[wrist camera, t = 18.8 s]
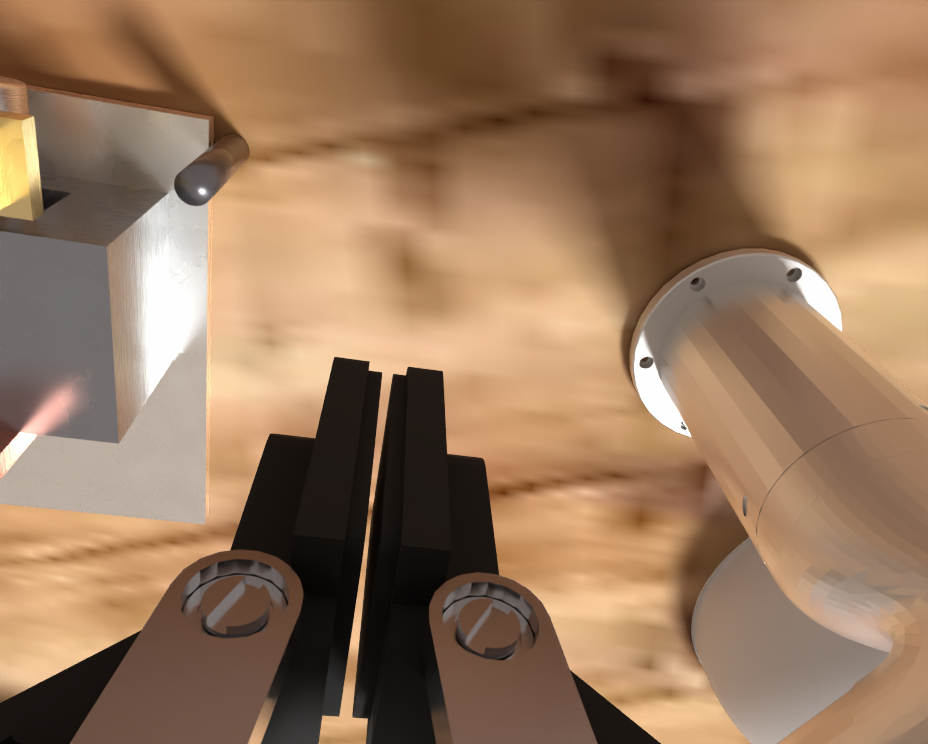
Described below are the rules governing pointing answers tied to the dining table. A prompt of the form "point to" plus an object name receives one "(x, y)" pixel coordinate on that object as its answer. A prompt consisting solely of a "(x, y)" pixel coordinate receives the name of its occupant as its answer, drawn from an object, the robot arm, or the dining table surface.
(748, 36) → the dining table surface
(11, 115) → the plate
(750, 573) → the kettle
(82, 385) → the hitch block
